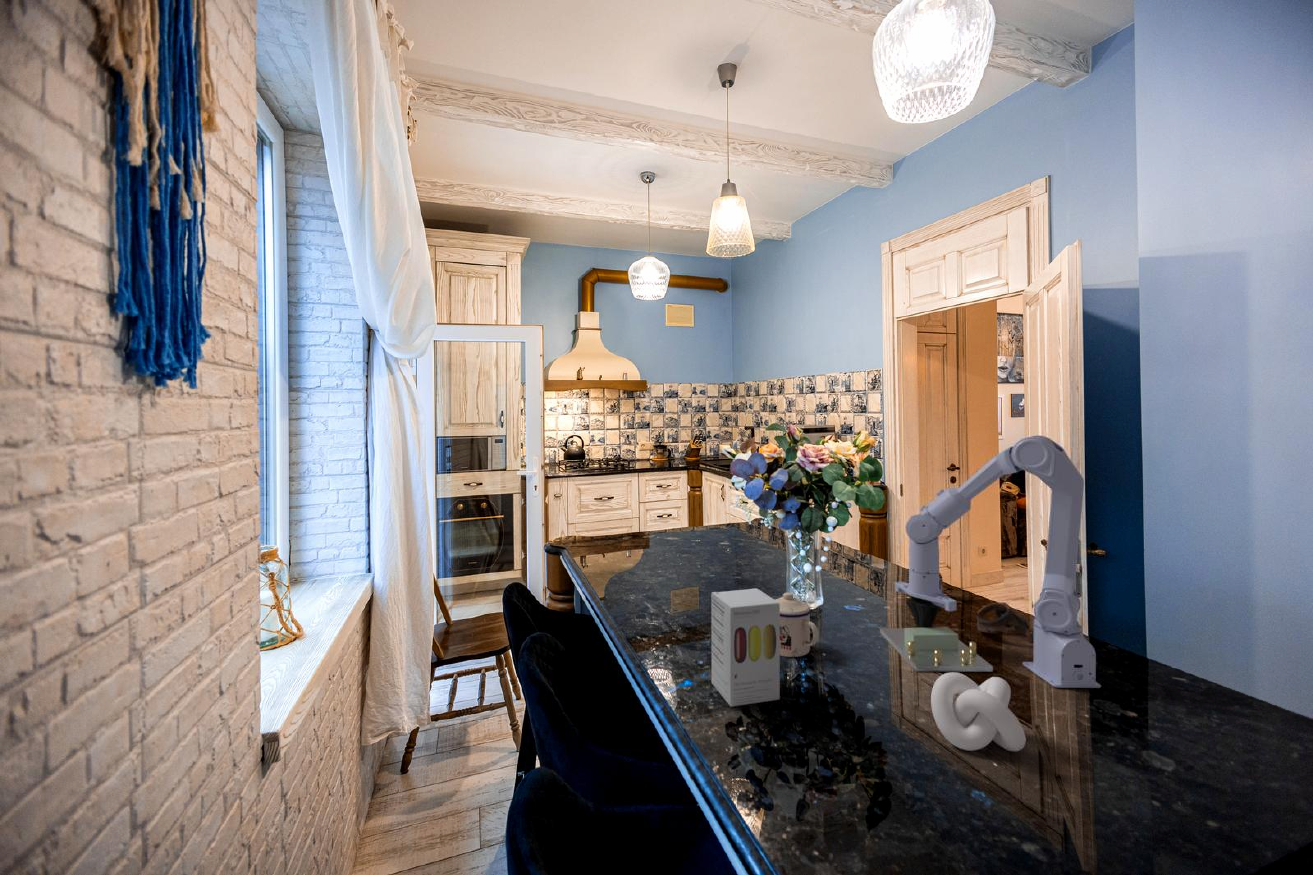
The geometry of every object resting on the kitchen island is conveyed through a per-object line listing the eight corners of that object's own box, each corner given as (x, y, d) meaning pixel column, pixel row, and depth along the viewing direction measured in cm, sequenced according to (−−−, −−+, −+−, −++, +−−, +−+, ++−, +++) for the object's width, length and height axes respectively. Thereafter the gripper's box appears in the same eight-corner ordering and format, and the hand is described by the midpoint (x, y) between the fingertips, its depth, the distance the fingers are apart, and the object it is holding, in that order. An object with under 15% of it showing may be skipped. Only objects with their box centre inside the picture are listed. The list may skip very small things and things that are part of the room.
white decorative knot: (943, 710, 90) (943, 656, 90) (1032, 735, 83) (1032, 676, 83) (925, 741, 82) (925, 681, 81) (1022, 773, 74) (1022, 707, 74)
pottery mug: (1038, 651, 114) (1017, 617, 113) (990, 661, 119) (970, 628, 119) (1032, 618, 124) (1012, 587, 124) (987, 629, 129) (969, 598, 129)
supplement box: (730, 708, 92) (728, 607, 92) (710, 683, 101) (708, 591, 100) (782, 699, 95) (781, 602, 94) (758, 676, 103) (757, 586, 103)
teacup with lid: (757, 647, 116) (756, 592, 116) (786, 637, 122) (786, 584, 121) (802, 667, 107) (801, 607, 106) (832, 655, 112) (831, 598, 112)
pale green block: (958, 649, 111) (958, 634, 111) (913, 650, 111) (913, 635, 111) (947, 641, 115) (947, 627, 115) (904, 642, 115) (904, 628, 115)
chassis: (992, 671, 104) (992, 653, 104) (916, 671, 104) (916, 653, 104) (944, 632, 123) (944, 617, 123) (880, 632, 123) (880, 617, 123)
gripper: (968, 577, 111) (968, 644, 111) (912, 560, 125) (912, 620, 125) (940, 581, 109) (941, 649, 109) (887, 563, 122) (887, 624, 123)
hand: (924, 634), depth 117 cm, fingers closed
